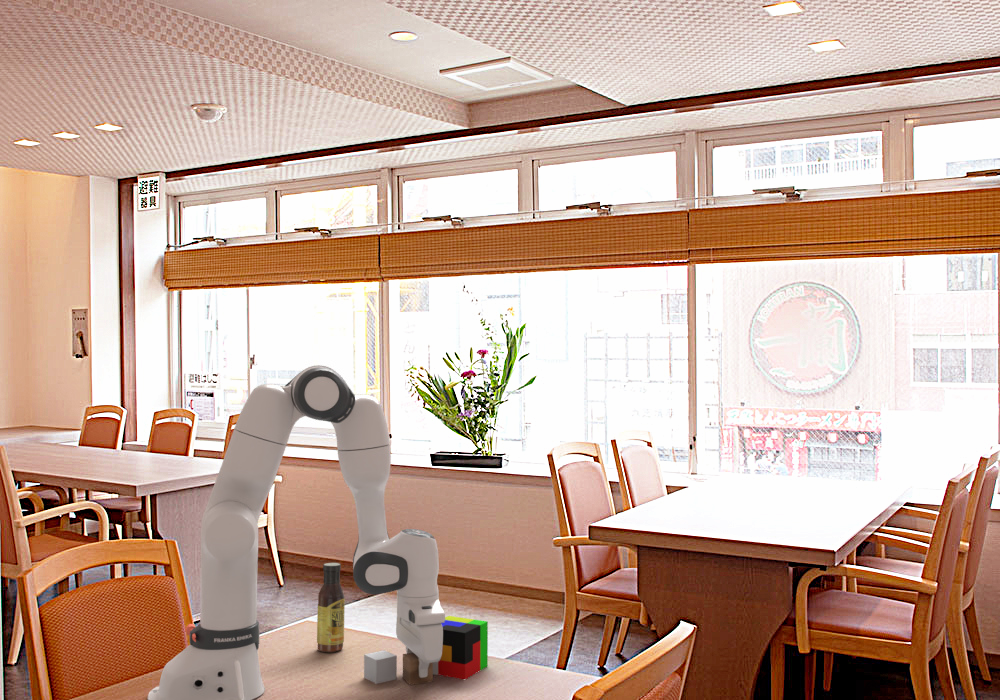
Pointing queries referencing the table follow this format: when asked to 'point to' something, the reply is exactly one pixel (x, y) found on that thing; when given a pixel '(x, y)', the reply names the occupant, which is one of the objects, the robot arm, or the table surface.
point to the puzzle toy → (463, 647)
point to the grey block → (380, 666)
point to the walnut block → (415, 670)
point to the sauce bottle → (330, 610)
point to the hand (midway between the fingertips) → (417, 671)
